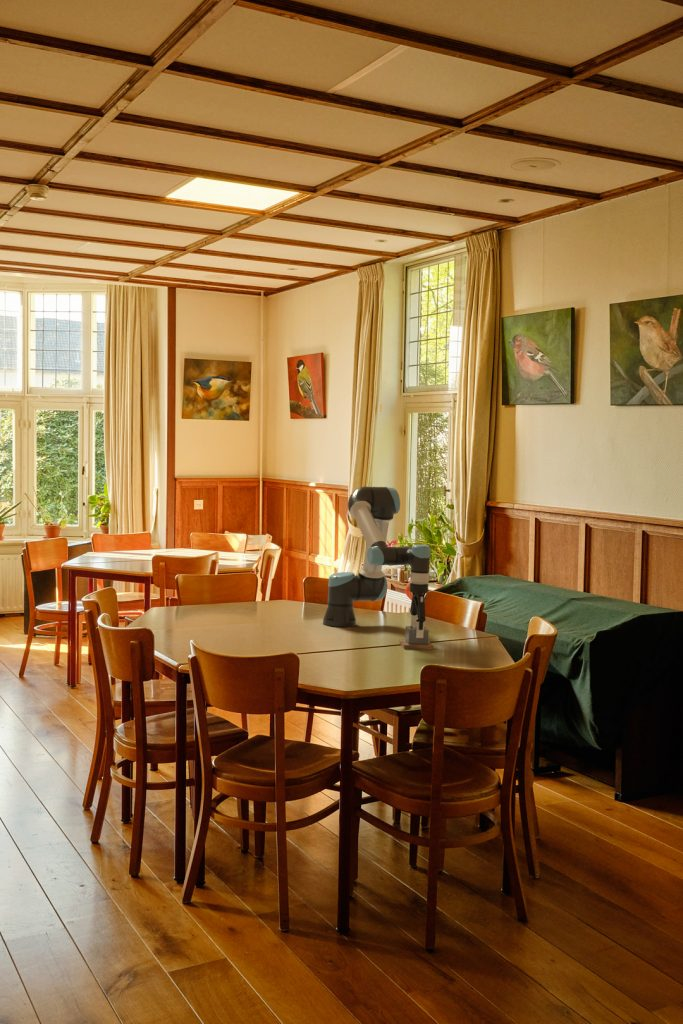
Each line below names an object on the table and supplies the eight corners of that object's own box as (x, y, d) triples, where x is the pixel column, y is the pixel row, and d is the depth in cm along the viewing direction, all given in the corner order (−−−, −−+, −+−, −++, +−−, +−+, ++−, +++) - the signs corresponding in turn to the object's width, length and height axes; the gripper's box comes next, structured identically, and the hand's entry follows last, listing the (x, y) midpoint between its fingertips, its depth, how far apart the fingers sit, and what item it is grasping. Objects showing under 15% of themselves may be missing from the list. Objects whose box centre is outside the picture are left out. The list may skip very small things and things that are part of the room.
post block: (399, 643, 414) (400, 622, 413) (427, 643, 415) (428, 623, 415) (404, 649, 402) (405, 628, 402) (433, 649, 404) (434, 628, 403)
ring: (404, 640, 412) (405, 626, 412) (424, 640, 413) (424, 626, 413) (408, 644, 404) (409, 629, 404) (427, 644, 405) (428, 630, 405)
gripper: (404, 578, 419) (402, 628, 421) (415, 587, 394) (413, 640, 396) (422, 578, 420) (419, 628, 421) (434, 587, 395) (431, 640, 397)
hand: (416, 634), depth 409 cm, fingers open, 13 cm apart
